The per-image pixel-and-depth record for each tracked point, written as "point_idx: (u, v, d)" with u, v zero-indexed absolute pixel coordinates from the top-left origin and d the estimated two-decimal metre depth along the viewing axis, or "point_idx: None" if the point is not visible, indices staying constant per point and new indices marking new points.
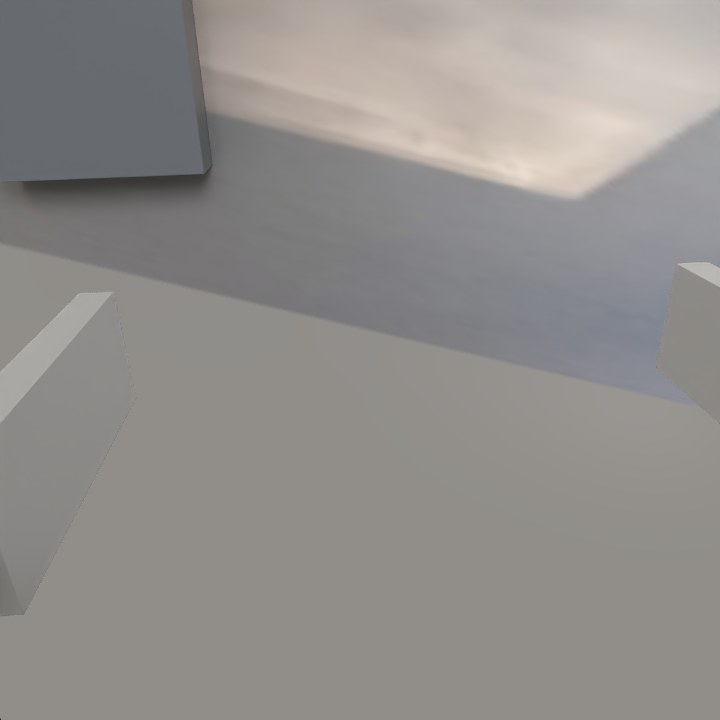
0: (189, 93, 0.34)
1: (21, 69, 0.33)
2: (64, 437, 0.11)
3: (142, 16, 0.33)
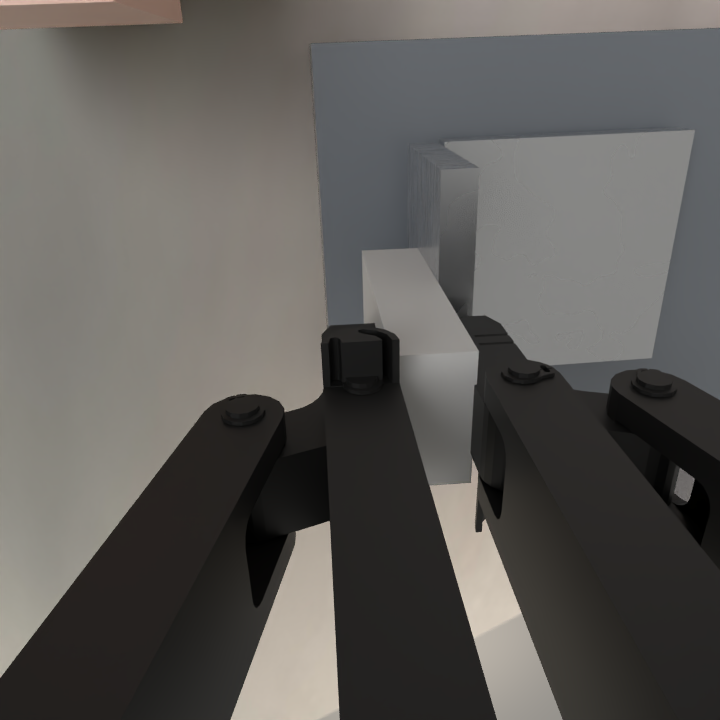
0: None
1: None
2: None
3: None
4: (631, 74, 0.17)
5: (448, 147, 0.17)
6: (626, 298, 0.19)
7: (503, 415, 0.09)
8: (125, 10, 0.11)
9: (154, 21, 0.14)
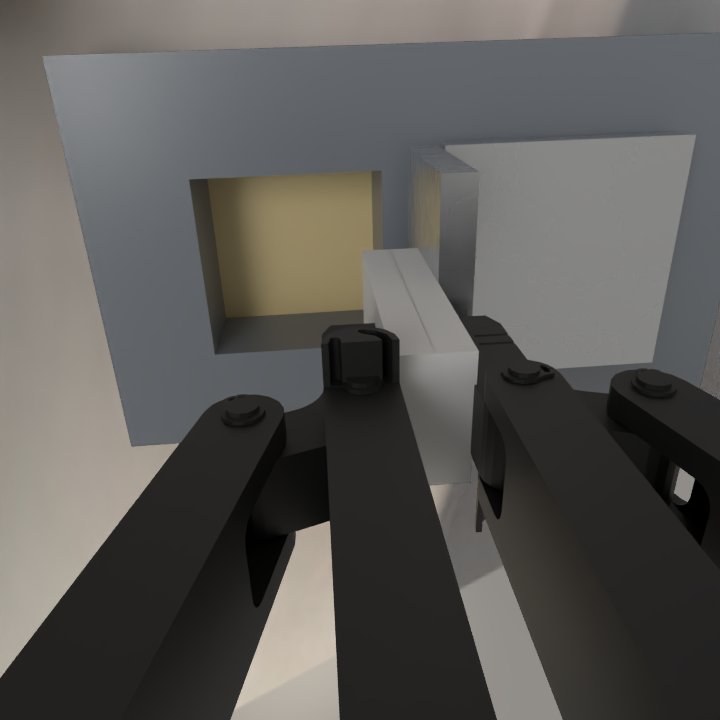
0: (630, 43, 0.17)
1: None
2: None
3: (490, 123, 0.18)
4: (386, 88, 0.17)
5: (449, 151, 0.17)
6: (626, 303, 0.19)
7: (503, 415, 0.09)
8: None
9: None
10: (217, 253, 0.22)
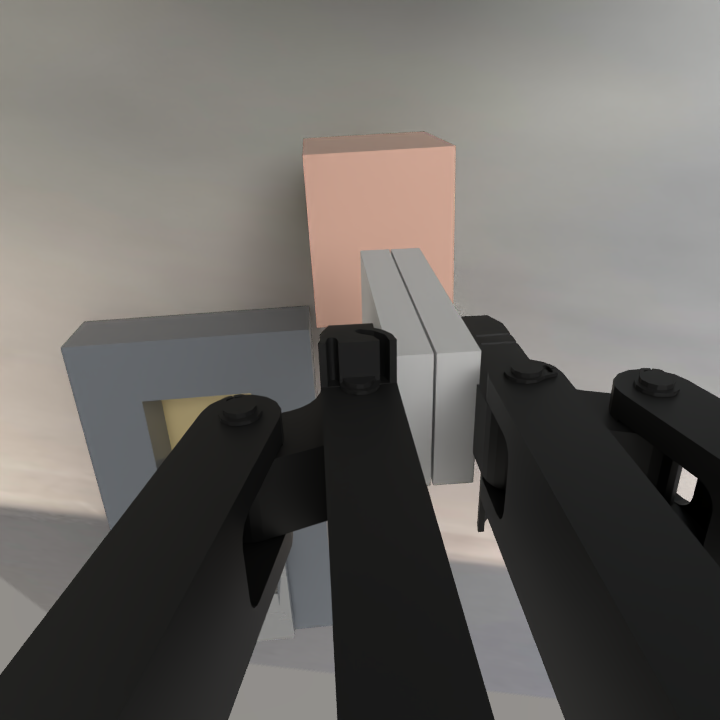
0: (327, 572, 0.37)
1: None
2: None
3: None
4: None
5: None
6: None
7: (505, 415, 0.09)
8: None
9: None
10: None
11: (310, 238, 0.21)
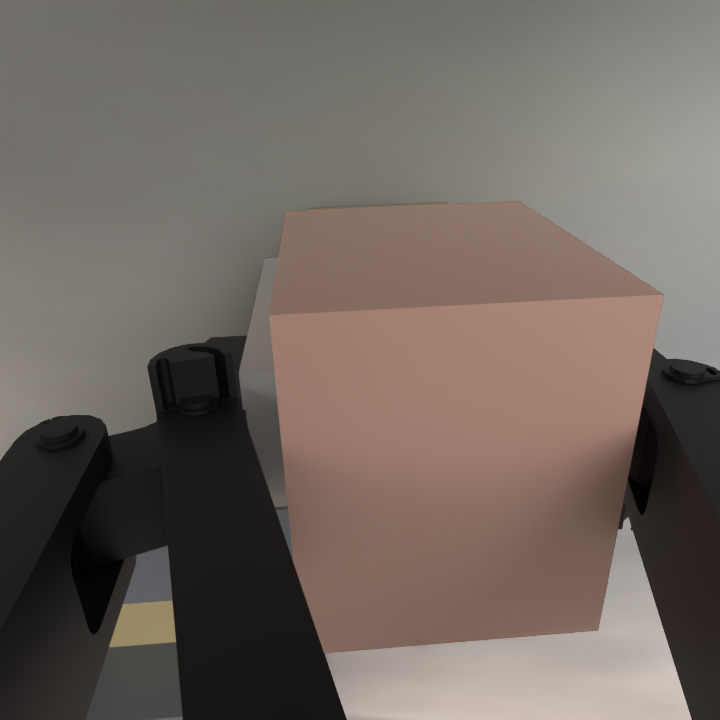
0: None
1: None
2: None
3: None
4: None
5: None
6: None
7: (659, 410, 0.09)
8: None
9: None
10: None
11: (289, 494, 0.09)
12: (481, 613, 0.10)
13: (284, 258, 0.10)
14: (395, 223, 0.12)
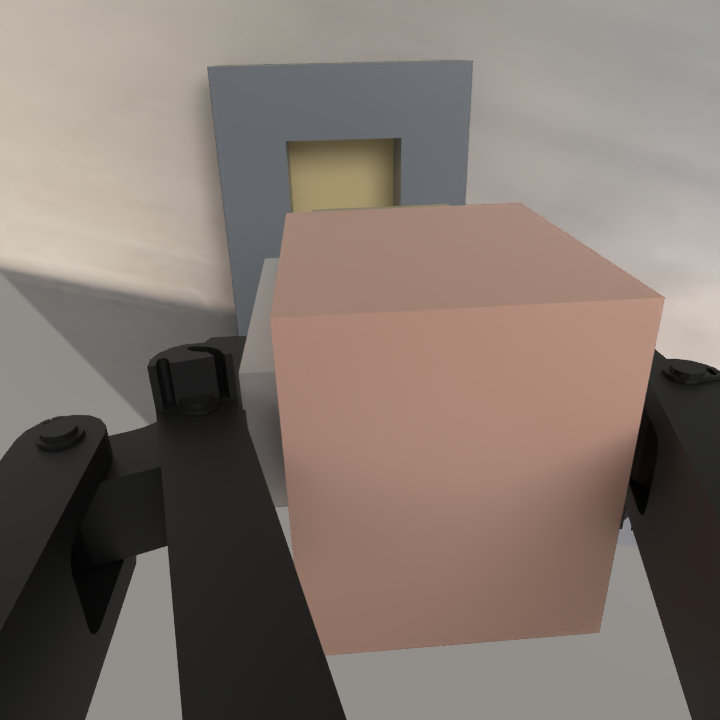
0: None
1: None
2: None
3: None
4: None
5: None
6: None
7: (659, 410, 0.09)
8: None
9: None
10: None
11: (289, 497, 0.09)
12: (482, 616, 0.10)
13: (285, 261, 0.10)
14: (396, 225, 0.12)
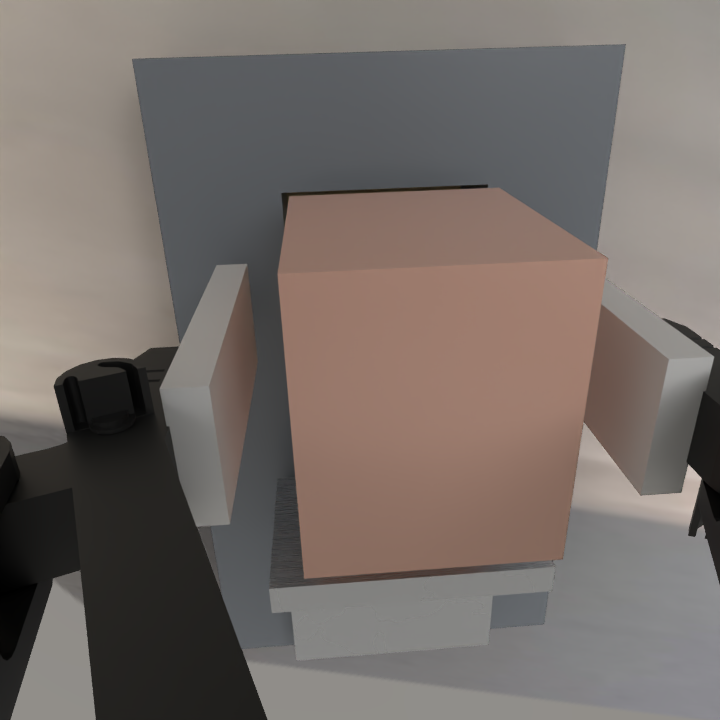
0: None
1: None
2: (236, 383, 0.12)
3: None
4: None
5: None
6: (354, 632, 0.22)
7: None
8: None
9: None
10: None
11: (293, 431, 0.10)
12: (460, 542, 0.12)
13: (289, 233, 0.11)
14: (386, 205, 0.13)
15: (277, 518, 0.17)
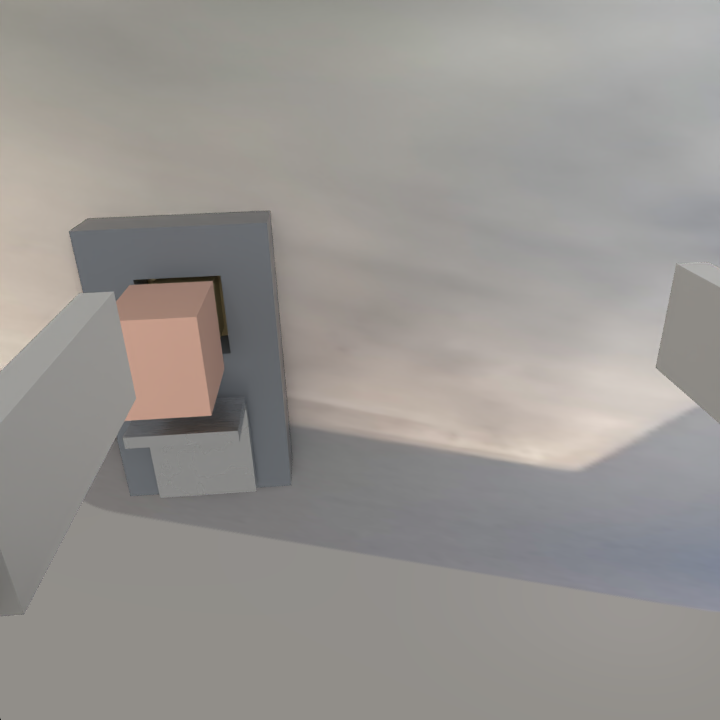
0: (284, 436, 0.45)
1: None
2: (64, 437, 0.11)
3: (252, 392, 0.43)
4: (263, 353, 0.42)
5: (244, 410, 0.43)
6: (187, 482, 0.45)
7: None
8: None
9: None
10: None
11: None
12: (173, 408, 0.35)
13: None
14: (159, 291, 0.36)
15: None
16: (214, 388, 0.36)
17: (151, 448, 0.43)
